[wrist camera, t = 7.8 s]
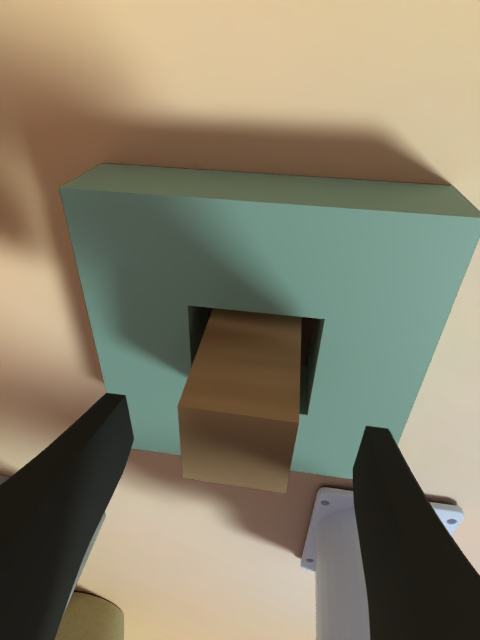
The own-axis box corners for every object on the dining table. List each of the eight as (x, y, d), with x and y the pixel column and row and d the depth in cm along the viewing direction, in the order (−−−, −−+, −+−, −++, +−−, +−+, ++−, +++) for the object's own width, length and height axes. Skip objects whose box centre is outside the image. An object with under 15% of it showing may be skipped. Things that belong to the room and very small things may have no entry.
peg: (293, 349, 18) (285, 493, 12) (222, 340, 18) (182, 477, 12) (302, 287, 16) (299, 422, 10) (223, 279, 16) (177, 406, 10)
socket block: (373, 429, 20) (382, 483, 17) (141, 400, 21) (119, 446, 19) (453, 185, 13) (486, 218, 10) (102, 163, 14) (58, 187, 12)
